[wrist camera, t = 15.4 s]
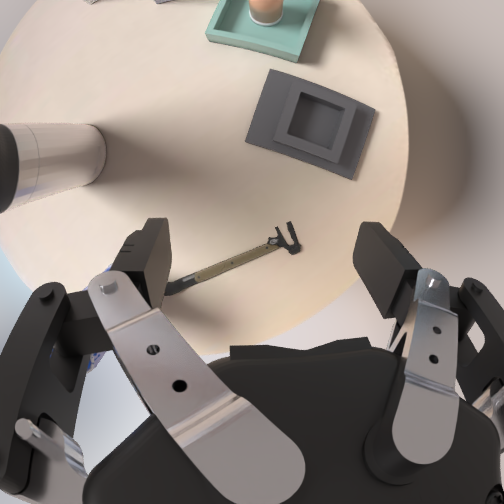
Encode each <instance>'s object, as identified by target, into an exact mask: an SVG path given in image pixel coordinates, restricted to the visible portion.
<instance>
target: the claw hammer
mask: <svg viewBox="0 0 504 504" xmlns="http://www.w3.org/2000/svg"><path fill="white" fill-rule="evenodd" d="M286 224H287V227H288V231H289V232H290V234H291V238H292V239H293V241H294V245H291V246H289V245H287V243H286V242H285V240H284V238H283V236H282V234H281V232H280V230H279V228H278V226H277V227H275V229H276V231H277V234H278V236H277V237H275V238H271V237H269V238H268V239H269V241H268V243H267V244H264V245H262V246H259V247H257V248H255V249H252V250H250V251H249V252H245V253H242V254H240V255H238V256H235V257H233V258H230V259H228V260H226V261H223V262H220V263H218V264H215V265H213V266H210V267H208V268H206V269H204V270H201V271H198V272H196V273H193V274H191V275H188V276H186V277H183V278H181V279H179V280H177V281H174V282H168V283H167V284H166V288H165V293H164V295H165V296H170V295H173V294H175V293H177V292H179V291H181V290H183V289H185V288H187V287H189V286H192V285H194V284H196V283H199V282H201V281H204V280H207V279H209V278H211V277H213V276H216V275H218V274H220V273H221V272H225V271H227V270H229V269H232V268H234V267H236V266H239V265H241V264H243V263H246V262H248V261H250V260H253V259H255V258H257V257H260V256H262V255H264V254H267V253H269V252H271V251H273V250H276V249H278V248H279V247H284V248H285V249H287V250H288V251H289V253H290V254H292V255H293V254H296V253H298V252H300V247H301V245H300V244H298V241H297V237H296V234H295V231H294V228H293V225H292V223H291V221H290V222H287V223H286Z"/></svg>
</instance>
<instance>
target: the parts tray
mask: <svg viewBox="0 0 504 504" xmlns="http://www.w3.org/2000/svg"><path fill="white" fill-rule="evenodd" d="M319 1H320V0H284V2H283V17H282V20H281V21H280V22H279V23H278V24H277V25H274V26H271V27H262V26H259V25H257V24H255V23H254V22H253V21H252V20H251V18H250V14H249V10H250V8H249V1H248V0H220V1H219V3H218V5H217V8H216V10H215V12H214V14H213V16H212V18H211V21H210V23H209V25H208V27H207V30H206V32H205V35H206V36H207V38H208V40H209V42H214V43H220V44H225V45H230V46H235V47H239V48H244V49H248V50H252V51H256V52H260V53H264V54H267V55H271V56H274V57H278V58H281V59H284V60H288V61H291V62H294V63H297V61H298V58H299V55H300V53H301V50H302V47H303V44H304V41H305V39H306V36H307V33H308V30H309V28H310V25H311V22H312V19H313V17H314V14H315V11H316V9H317V6H318V3H319Z"/></svg>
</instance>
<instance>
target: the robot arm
mask: <svg viewBox="0 0 504 504" xmlns="http://www.w3.org/2000/svg"><path fill="white" fill-rule="evenodd" d="M105 160H106V145H105V140H104V138H103V136H102V134H101V133H100V131H99V130H98V129H96V128H95V127H93V126H91V125H87V124H71V123H15V124H0V213H3V212H5V211H8V210H10V209H13V208H16V207H18V206H21V205H24V204H26V203H29V202H32V201H35V200H38V199H41V198H44V197H47V196H50V195H53V194H56V193H60V192H63V191H66V190H70V189H73V188H76V187H80V186H83V185H87V184H89V183H91V182H93V181H94V180H95V179H96V178H97V177H98V176H99V174H100V173H101V171H102V169H103V167H104V164H105ZM171 263H172V252H171V243H170V234H169V225H168V220H167V218H148V220H147V221H146V223H145V225H144V227H143V229H142V230H136V231H135V232H133V233H132V234H131V235H129V236H128V237H127V239H126V240H125V242H124V244H123V246H122V248H121V249H120V252H119V253H118V255H117V257H116V258H115V260H114V262H113V264H112V266H111V268H110V270H109V271H107V272H104V273H101V274H99V275H97V276H96V277H94V278H93V279H92V280H91V281H90V283H89V285H88V290H84V291H79V292H74V293H69V294H67V292H66V290H65V287H64V286H63V285H62V284H61V283H58V282H50V283H46V284H44V285H42V286H40V287H39V288H37V289H36V290H35V291H34V292H33V293H32V295H31V297H30V298H29V300H28V302H27V303H26V305H25V307H24V309H23V311H22V312H21V314H20V316H19V318H18V320H17V322H16V324H15V326H14V328H13V330H12V332H11V333H10V336H9V338H8V340H7V342H6V344H5V346H4V348H3V351H2V353H1V355H0V489H1V490H2V491H4V492H5V493H7V494H9V495H11V496H13V497H16V498H18V499H21V500H23V501H26V502H28V503H31V504H504V491H503V488H502V483H501V472H500V454H501V453H503V452H504V310H503V308H502V307H501V306H500V304H499V303H498V302H497V300H496V299H495V298H494V296H493V295H492V294H491V293H490V292H489V290H488V289H487V287H486V286H485V285H484V284H482V283H481V282H480V281H478V280H476V279H473V278H465V279H464V281H463V283H462V285H461V287H460V288H458V287H452V286H449V282H448V281H447V279H446V278H445V277H444V276H443V275H442V274H440V273H439V272H437V271H435V270H432V269H428V268H427V269H426V268H422V267H421V266H420V264H419V263H418V262H417V261H416V260H415V258H414V257H413V256H412V255H411V254H410V253H409V251H408V250H407V249H406V248H404V246H403V245H402V243H401V242H400V241H399V240H398V239H396V238H395V237H393V236H392V235H391V234H390V233H389V232H388V231H387V230H386V229H385V228H384V227H383V225H382V224H381V223H379V222H362V223H361V225H360V228H359V232H358V236H357V240H356V244H355V248H354V252H353V264H354V267H355V269H356V270H357V272H358V274H359V276H360V277H361V279H362V281H363V282H364V284H365V286H366V288H367V290H368V291H369V293H370V295H371V297H372V298H373V300H374V302H375V304H376V306H377V308H378V309H379V311H380V313H381V315H382V317H383V318H384V319H387V318H396V321H395V323H394V325H393V328H392V331H391V335H390V339H389V341H388V345H387V348H386V350H385V349H382V348H377V347H372V346H371V344H370V342H369V340H368V337H361V338H353V339H343V340H336V341H333V342H330V343H327V344H324V345H321V346H318V347H315V348H312V349H309V350H297V349H290V348H283V347H277V346H270V345H245V346H230V356H229V357H225V358H221V359H218V360H216V361H213V362H211V363H209V364H207V365H206V364H205V362H204V361H203V360H202V359H201V358H200V357H199V356H198V354H197V353H196V352H195V351H194V350H193V349H192V348H191V346H190V345H189V344H188V343H187V342H186V341H185V339H184V338H183V337H182V336H181V335H180V333H179V332H178V331H177V330H176V329H175V327H174V326H173V325H172V324H171V322H170V321H169V320H168V319H167V317H166V316H165V315H164V314H163V312H162V311H161V310H160V308H161V304H162V300H163V296H164V292H165V288H166V284H167V280H168V276H169V272H170V269H171ZM475 321H476V323H477V324H478V325H479V327H480V329H481V330H482V332H483V334H484V336H485V343H484V346H483V348H482V349H481V350H480V352H479V353H478V352H477V350H476V349H475V347H474V345H473V343H472V342H471V340H470V338H469V337H468V335H467V333H468V332H469V330H470V329H471V327H472V326H473V324H474V322H475ZM53 347H54V349H53ZM52 350H53V351H52ZM110 350H113V352H114V354H115V356H116V358H117V360H118V362H119V363H120V365H121V367H122V369H123V371H124V372H125V374H126V376H127V378H128V379H129V381H130V383H131V384H132V386H133V388H134V389H135V391H136V393H137V395H138V396H139V398H140V400H141V401H142V403H143V405H144V406H145V407H146V409H147V411H148V412H149V414H150V416H149V417H148V418H147V419H146V420H145V421H144V422H143V423H142V424H141V425H140V426H139V427H138V428H137V429H136V430H135V431H134V432H133V433H132V434H130V435H129V436H128V437H127V438H126V439H125V440H124V441H123V442H122V443H121V444H120V445H119V446H117V447H116V448H115V449H114V450H113V451H112V452H111V453H110V454H109V455H108V456H106V457H105V458H104V459H103V460H102V461H101V462H100V463H99V464H98V465H96V466H95V467H94V468H93V470H92V471H91V472H90V473H89V475H87V473H86V471H85V468H84V462H83V453H82V450H81V448H80V446H79V444H78V443H77V442H76V441H75V440H74V439H73V435H74V429H75V423H76V418H77V413H78V407H79V403H80V398H81V394H82V389H83V385H84V381H85V377H86V373H87V369H88V365H89V361H90V358H91V354H94V353H99V352H105V351H110ZM51 352H52V354H51ZM50 355H51V357H50ZM455 379H457V381H458V383H459V385H460V387H461V389H462V392H463V394H464V397H465V399H466V401H467V402H466V401H465V400H464V399H462V398H461V397H459V396H458V394H457V393H456V392H455Z"/></svg>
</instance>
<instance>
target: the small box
mask: <svg viewBox="0 0 504 504" xmlns="http://www.w3.org/2000/svg"><path fill="white" fill-rule="evenodd" d="M83 1H85V2H86V3H88V4H92V3H94V2H95V1H97V0H83Z"/></svg>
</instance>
